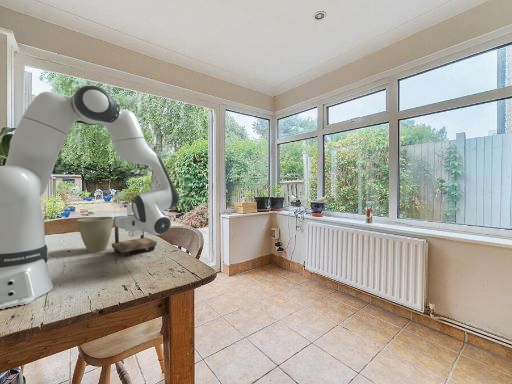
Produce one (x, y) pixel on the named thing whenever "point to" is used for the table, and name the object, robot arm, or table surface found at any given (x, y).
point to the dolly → (132, 243)
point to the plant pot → (95, 232)
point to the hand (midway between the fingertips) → (134, 217)
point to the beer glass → (130, 212)
